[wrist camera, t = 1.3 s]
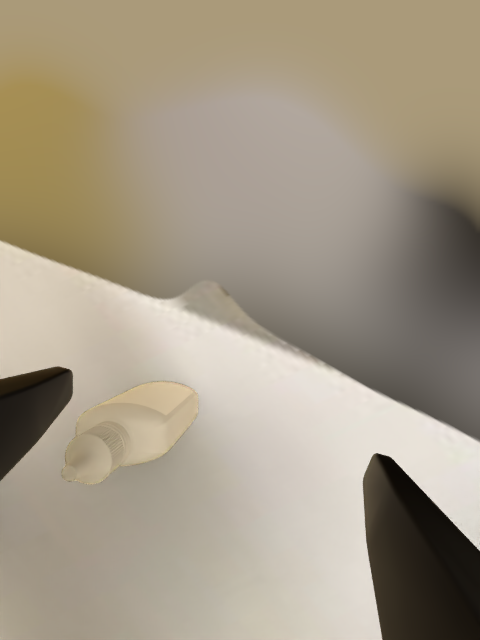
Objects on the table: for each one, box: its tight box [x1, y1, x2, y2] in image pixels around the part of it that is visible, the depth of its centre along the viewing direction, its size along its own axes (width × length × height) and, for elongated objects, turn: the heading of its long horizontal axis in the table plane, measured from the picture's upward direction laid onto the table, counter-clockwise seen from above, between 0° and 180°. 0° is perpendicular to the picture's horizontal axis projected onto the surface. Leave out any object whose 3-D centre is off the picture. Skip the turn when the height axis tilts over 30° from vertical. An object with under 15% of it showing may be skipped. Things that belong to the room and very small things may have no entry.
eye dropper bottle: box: [62, 381, 198, 484], centre depth 20 cm, size 4×6×12 cm
